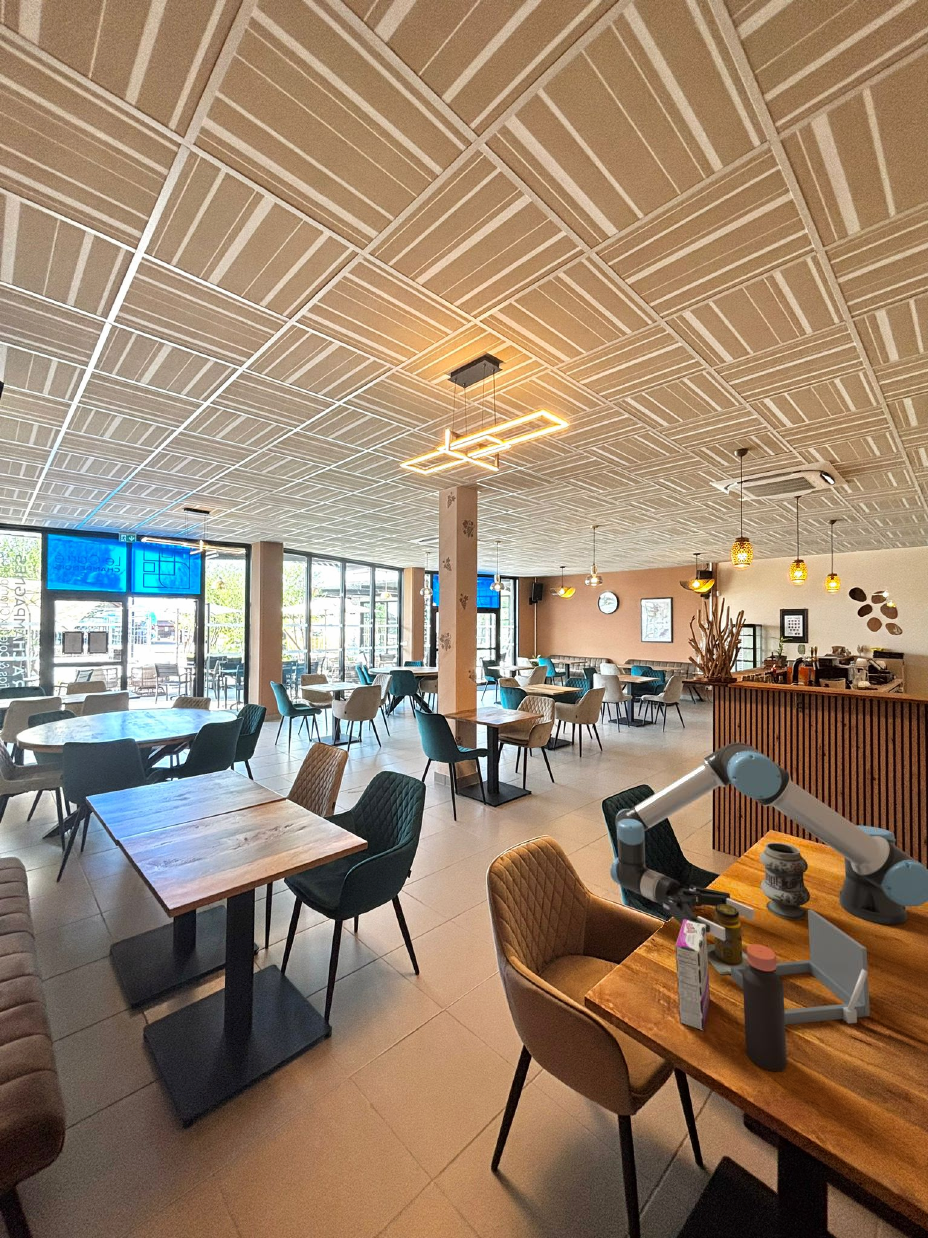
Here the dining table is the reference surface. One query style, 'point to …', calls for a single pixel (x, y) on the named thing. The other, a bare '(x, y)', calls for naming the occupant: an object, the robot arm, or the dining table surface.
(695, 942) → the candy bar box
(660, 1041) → the dining table surface
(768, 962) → the bottle
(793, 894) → the apothecary jar
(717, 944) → the condiment
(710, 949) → the pad
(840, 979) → the grey holder frame
